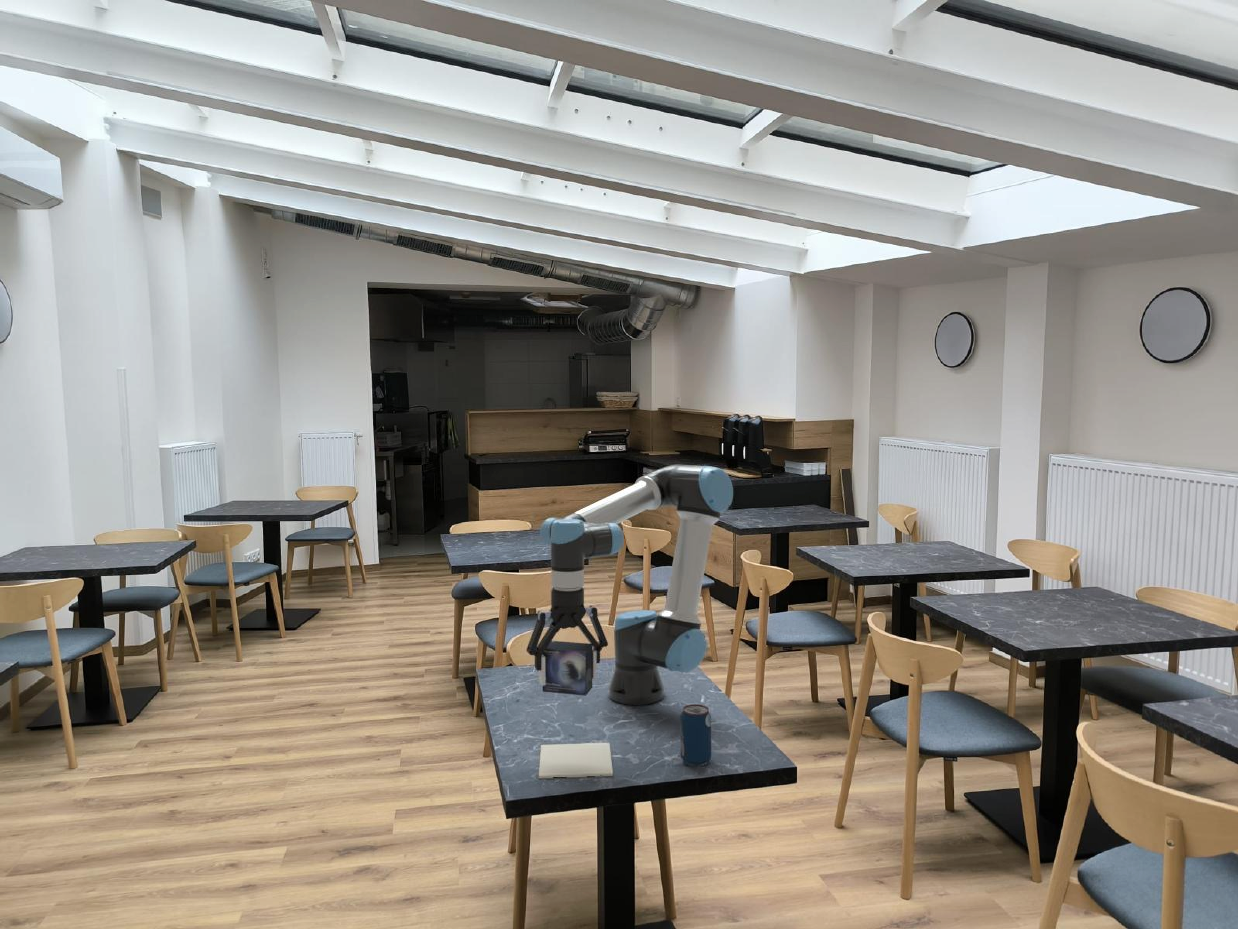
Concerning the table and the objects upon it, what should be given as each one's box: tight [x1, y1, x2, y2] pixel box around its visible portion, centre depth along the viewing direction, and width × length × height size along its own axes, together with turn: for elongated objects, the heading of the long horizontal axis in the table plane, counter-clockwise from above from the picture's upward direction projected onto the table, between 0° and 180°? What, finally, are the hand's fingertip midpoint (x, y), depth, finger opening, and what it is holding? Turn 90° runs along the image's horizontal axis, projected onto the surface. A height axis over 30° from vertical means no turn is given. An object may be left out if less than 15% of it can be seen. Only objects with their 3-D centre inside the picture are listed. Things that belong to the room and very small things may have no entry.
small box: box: [542, 640, 593, 696], centre depth 193 cm, size 11×6×10 cm, turn 77°
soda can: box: [679, 704, 712, 766], centre depth 188 cm, size 7×7×12 cm
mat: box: [538, 742, 614, 779], centre depth 189 cm, size 16×16×1 cm
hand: (567, 680), depth 193 cm, fingers closed on small box, 12 cm apart
